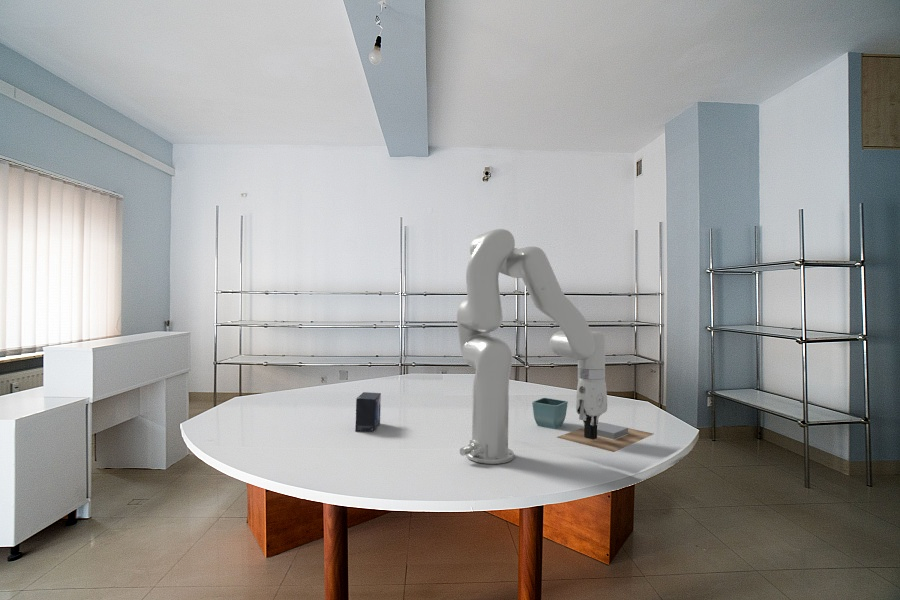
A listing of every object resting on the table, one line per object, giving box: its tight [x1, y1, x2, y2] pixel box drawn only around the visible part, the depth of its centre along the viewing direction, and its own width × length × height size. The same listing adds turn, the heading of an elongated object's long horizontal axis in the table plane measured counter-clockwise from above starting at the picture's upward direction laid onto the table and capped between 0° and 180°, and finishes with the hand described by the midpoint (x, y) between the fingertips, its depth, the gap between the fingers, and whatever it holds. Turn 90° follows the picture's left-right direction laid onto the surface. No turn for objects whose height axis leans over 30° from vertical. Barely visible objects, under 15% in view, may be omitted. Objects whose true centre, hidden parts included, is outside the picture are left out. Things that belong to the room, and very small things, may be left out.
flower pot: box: [532, 397, 569, 429], centre depth 152 cm, size 9×9×9 cm
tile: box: [597, 422, 629, 440], centre depth 142 cm, size 2×8×9 cm
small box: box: [354, 391, 382, 433], centre depth 151 cm, size 11×6×10 cm, turn 179°
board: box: [556, 421, 654, 453], centre depth 141 cm, size 26×18×1 cm
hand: (590, 438), depth 135 cm, fingers closed
